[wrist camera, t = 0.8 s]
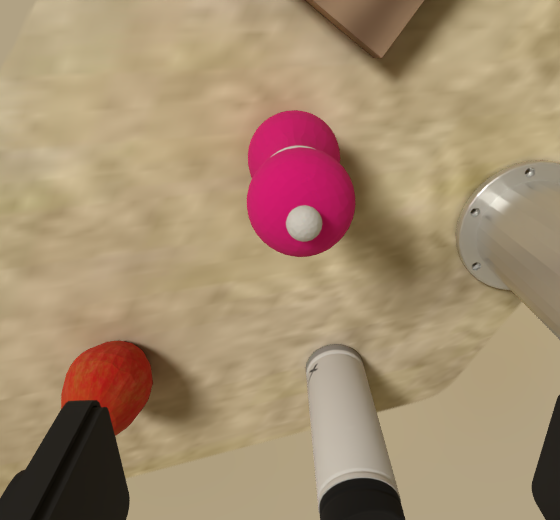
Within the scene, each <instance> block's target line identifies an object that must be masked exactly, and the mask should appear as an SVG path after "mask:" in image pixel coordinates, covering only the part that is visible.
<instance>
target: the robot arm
mask: <svg viewBox="0 0 560 520" xmlns="http://www.w3.org/2000/svg"><path fill="white" fill-rule="evenodd" d="M526 170H527V172H525V171H526ZM472 209H474V210H473V211H472V212H471V210H472ZM456 246H457V250H458V254H459V257H460V259H461V260H462V262H463V264H464V266H465V267H466V268H467V269H468V271H469V272H470V273H471V274H472V275H473V276H474V277H476V278H477V279H478V280H479V281H481V282H483V283H485V284H486V285H488V286H491V287H494V288H498V289H504V290H511V291H512V292H513V293H514V294H515V295H516V296H517V297H518V298H519V299H520V300H521V301H522V302H523V303H524V304H525V305H526V306H527V307H528V308H529V309H530V310H531V311H532V312H533V313H534V314H535V315H536V316H537V317H538V318H539V319H540V320H541V321H542V322H543V323H544V324H545V325H546V326H547V327H548V328H549V329H550V330H551V331H552V332H553V333H554V334H555V335H556V336H557V337H558V338H559V339H560V163H557V162H553V161H545V160H535V161H526V162H522V163H518V164H514V165H512V166H509V167H507V168H505V169H502V170H500V171H499V172H497V173H496V174H494V175H493V176H491V177H489V178H488V179H487V180H486V181H485V182H484V183H482V184H481V185H480V186H479V187H478V188H477V189H476V190H475V192H474V193H473V194H472V195H471V196H470V198H469V199H468V201H467V202H466V204H465V206H464V208H463V209H462V212H461V214H460V217H459V220H458V223H457V229H456ZM532 493H533V497H534V500H535V502H536V504H537V505H538V507H539V509H540V511H541V512H542V514H543V516H544V517H545V519H546V520H560V395H559V396H558V398H557V401H556V404H555V407H554V411H553V414H552V418H551V421H550V424H549V427H548V431H547V434H546V437H545V441H544V444H543V448H542V451H541V454H540V458H539V461H538V464H537V468H536V471H535V474H534V478H533V481H532ZM128 510H129V492H128V488H127V484H126V479H125V475H124V471H123V467H122V463H121V459H120V455H119V451H118V446H117V442H116V438H115V434H114V430H113V426H112V422H111V418H110V413H109V410H108V408H107V407H101V405H100V403H99V402H98V400H77V401H68V402H66V403H65V405H64V406H63V407H62V409H61V411H60V412H59V414H58V416H57V417H56V419H55V421H54V423H53V424H52V426H51V428H50V429H49V431H48V433H47V434H46V436H45V438H44V439H43V441H42V443H41V444H40V446H39V448H38V449H37V451H36V453H35V455H34V456H33V458H32V460H31V461H30V463H29V465H28V466H27V468H26V470H23V471H21V472H19V473H18V474H17V475H15V477H14V478H13V479H12V481H11V482H10V483H9V485H8V487H7V488H6V490H5V491H4V493H3V495H2V496H1V498H0V520H126V517H127V514H128Z"/></svg>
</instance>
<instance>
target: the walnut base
mask: <svg viewBox="0 0 560 520" xmlns="http://www.w3.org/2000/svg"><path fill="white" fill-rule="evenodd" d="M305 1H307V2H308V3H309V4H310V5H311V6H313V7H314V8H315V9H316V10H317V11H319V12H320V13H321V14H322V15H323V16H325V17H326V18H327V19H328V20H329V21H331V22H332V23H333V24H334V25H335V26H337V27H338V28H339V29H340V30H341V31H343V32H344V33H345V34H346V35H347V36H349V37H350V38H351V39H352V40H353V41H355V42H356V43H357V44H358V45H359V46H360V47H362V48H363V49H364V50H365V51H366V52H368V53H369V54H370V55H371V56H372V57H374V58H382V57H383V56H384V54H385V53H386V51H387V50H388V49H389V47H390V46H391V45H392V43H393V42H394V41H395V39H396V38H397V37H398V35H399V34H400V32H401V31H402V30H403V28H404V27H405V26H406V24H407V23H408V22H409V20H410V19H411V18H412V16H413V15H414V13H415V12H416V11H417V9H418V8H419V7H420V5H421V4H422V3H423V1H424V0H305Z"/></svg>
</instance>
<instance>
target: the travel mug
mask: <svg viewBox="0 0 560 520" xmlns="http://www.w3.org/2000/svg"><path fill="white" fill-rule="evenodd" d="M306 377H307V388H308V399H309V410H310V421H311V432H312V443H313V454H314V464H315V476H316V486H317V498H318V509H319V513H320V520H405V516H404V513H403V509H402V506H401V499H400V496H399V492H398V488H397V485H396V481H395V478H394V474H393V470H392V466H391V463H390V459H389V456H388V452H387V449H386V445H385V441H384V438H383V434H382V430H381V427H380V423H379V420H378V416H377V412H376V409H375V405H374V402H373V398H372V394H371V391H370V387H369V383H368V380H367V376H366V373H365V369H364V365H363V362H362V359H361V357H360V355H359V354H358V353H357V352H356V351H355V350H353V349H352V348H350V347H348V346H344V345H338V344H334V345H327V346H324V347H322V348H319V349H318V350H316V351H315V352H314V353H313V354H312V355H311V356H310V357H309V359H308V361H307V364H306Z"/></svg>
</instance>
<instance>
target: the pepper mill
mask: <svg viewBox="0 0 560 520" xmlns="http://www.w3.org/2000/svg"><path fill="white" fill-rule="evenodd" d="M248 166H249V170H250V174H251V177H252V180H251V183H250V185H249V190H248V195H247V210H248V215H249V219H250V222H251V225H252V227H253V229H254V230H255V232H256V234H257V235H258V236H259V237H260V238H261V239H262V241H263V242H264V243H266V244H267V245H268V246H269V247H271V248H273V249H274V250H276V251H278V252H280V253H283V254H285V255H290V256H296V257H307V256H312V255H317V254H319V253H322V252H324V251H326V250H328V249H330V248H331V247H332V246H334V245H335V244H336V243H337V242H338V241H339V240H340V239H341V238H342V237H343V236H344V234H345V233H346V231H347V230H348V228H349V227H350V224H351V221H352V219H353V215H354V211H355V193H354V188H353V184H352V182H351V179H350V177H349V175H348V173H347V172H346V170H345V169H344V167H343V166H342V165H340V152H339V147H338V143H337V140H336V137H335V135H334V133H333V132H332V130H331V129H330V127H329V126H328V125H327V124H326V123H325V122H324V121H323V120H321V119H320V118H318V117H317V116H315V115H313V114H310V113H308V112H303V111H297V110H296V111H285V112H281V113H278V114H276V115H274V116H272V117H270V118H269V119H267V120H266V121H264V122H263V123H262V124H261V125H260V126H259V128H258V129H257V130H256V132H255V133H254V135H253V137H252V139H251V142H250V145H249V151H248Z"/></svg>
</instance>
